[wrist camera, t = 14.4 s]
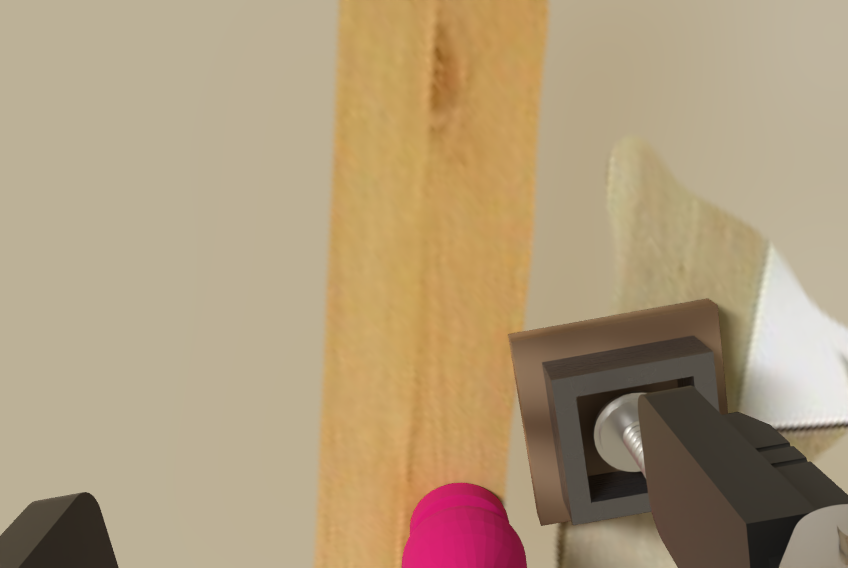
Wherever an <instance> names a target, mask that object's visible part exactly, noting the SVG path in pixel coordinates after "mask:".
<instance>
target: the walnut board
mask: <svg viewBox="0 0 848 568" xmlns="http://www.w3.org/2000/svg"><path fill="white" fill-rule="evenodd" d="M692 335H694V336H695V337H696V338H697V339H699V340H700V341H701V342H702V343H704V344H705V345H706V346H707V347H708V348H710V349H711V350H712V351H713V353H714V363H715V373H716V384H717V394H718V404H719V413H720V414H721V415H723V414H728V409H727V399H726V388H725V378H724V367H723V357H722V346H721V336H720V325H719V314H718V305H717V304H715V303H714V302H712V301H711V300H709V299H703V300H697V301H691V302H686V303H680V304H675V305H669V306H663V307H658V308H652V309H647V310H641V311H636V312H630V313H624V314H619V315H613V316H608V317H602V318H597V319H591V320H585V321H580V322H574V323H569V324H563V325H557V326H552V327H547V328H541V329H535V330H529V331H524V332H518V333H513V334H508V336H509V342H510V348H511V354H512V361H513V367H514V373H515V379H516V385H517V391H518V398H519V404H520V410H521V416H522V422H523V428H524V434H525V441H526V446H527V453H528V459H529V465H530V472H531V478H532V484H533V490H534V496H535V503H536V509H537V514H538V517H539V520H540V524H541V526H543V525H549V524H555V523H560V522H566V521H571V519H570V516H569V514H568V511H567V509H566V506H565V503H564V501H563V497H562V491H561V484H560V478H559V471H558V465H557V458H556V452H555V445H554V438H553V432H552V425H551V419H550V412H549V406H548V399H547V393H546V386H545V380H544V373H543V366H542V362H546V361H552V360H557V359H563V358H569V357H574V356H580V355H585V354H591V353H597V352H602V351H608V350H614V349H619V348H625V347H630V346H636V345H642V344H647V343H653V342H658V341H664V340H670V339H675V338H681V337H686V336H692ZM675 388H678V380H677V379H674V380H668V381H663V382H657V383H652V384H646V385H640V386H635V387H629V388H623V389H618V390H612V391H606V392H601V393H595V394H589V395H584V396H578V397H576V401H577V408H578V415H579V422H580V429H581V436H582V443H583V450H584V457H585V464H586V471H587V476H592V475H598V474H604V473H610V472H615V471H621V470H619V469H617V468H615V467H613V466H611V465H609V464H608V463H607V462H606V461H605V460H603V458H602V457H601V456H600V454H599V453H598V451H597V449H596V446H595V444H594V440H593V425H594V422H595V419H596V416H597V415H598V413H599V411H600V410H601V408H602V407H603V406H604V405H605V404H606V403H607V402H608V401H610V400H611V399H612V398H614V397H616V396H618V395H620V394H622V393H626V392H630V391H646V392H650V393H652V392H658V391H664V390H669V389H675Z"/></svg>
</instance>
